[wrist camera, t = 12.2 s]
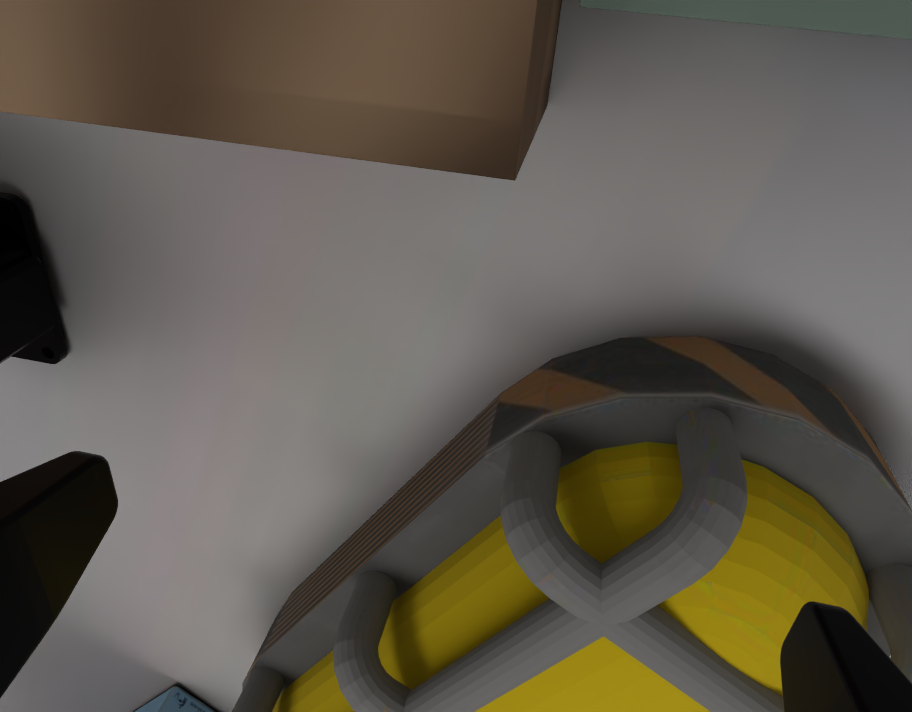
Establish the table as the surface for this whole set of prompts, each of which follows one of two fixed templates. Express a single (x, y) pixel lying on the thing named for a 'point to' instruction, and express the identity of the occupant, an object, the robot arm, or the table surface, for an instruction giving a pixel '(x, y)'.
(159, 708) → the gum box
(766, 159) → the table surface
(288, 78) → the brown open lidded box
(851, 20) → the tray
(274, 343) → the table surface
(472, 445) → the cage light
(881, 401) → the table surface
